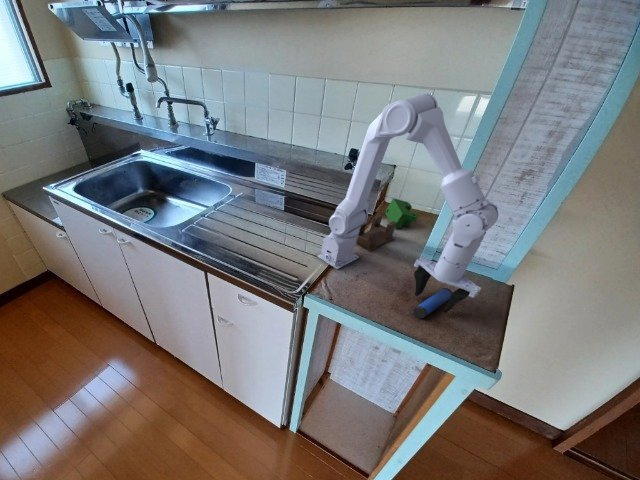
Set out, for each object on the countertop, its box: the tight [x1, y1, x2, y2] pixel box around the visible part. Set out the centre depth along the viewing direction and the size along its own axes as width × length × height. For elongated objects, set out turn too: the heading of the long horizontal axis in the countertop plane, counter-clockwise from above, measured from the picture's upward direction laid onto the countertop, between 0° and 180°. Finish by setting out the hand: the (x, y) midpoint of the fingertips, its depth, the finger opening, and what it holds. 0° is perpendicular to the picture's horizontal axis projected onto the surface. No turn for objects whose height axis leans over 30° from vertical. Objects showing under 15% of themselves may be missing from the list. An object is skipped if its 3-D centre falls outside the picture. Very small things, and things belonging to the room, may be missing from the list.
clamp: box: [385, 198, 419, 229], centre depth 110 cm, size 12×6×9 cm, turn 170°
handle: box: [412, 287, 453, 319], centre depth 80 cm, size 12×3×3 cm, turn 125°
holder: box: [356, 214, 397, 252], centre depth 102 cm, size 11×7×6 cm, turn 125°
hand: (431, 302), depth 80 cm, fingers open, 7 cm apart
